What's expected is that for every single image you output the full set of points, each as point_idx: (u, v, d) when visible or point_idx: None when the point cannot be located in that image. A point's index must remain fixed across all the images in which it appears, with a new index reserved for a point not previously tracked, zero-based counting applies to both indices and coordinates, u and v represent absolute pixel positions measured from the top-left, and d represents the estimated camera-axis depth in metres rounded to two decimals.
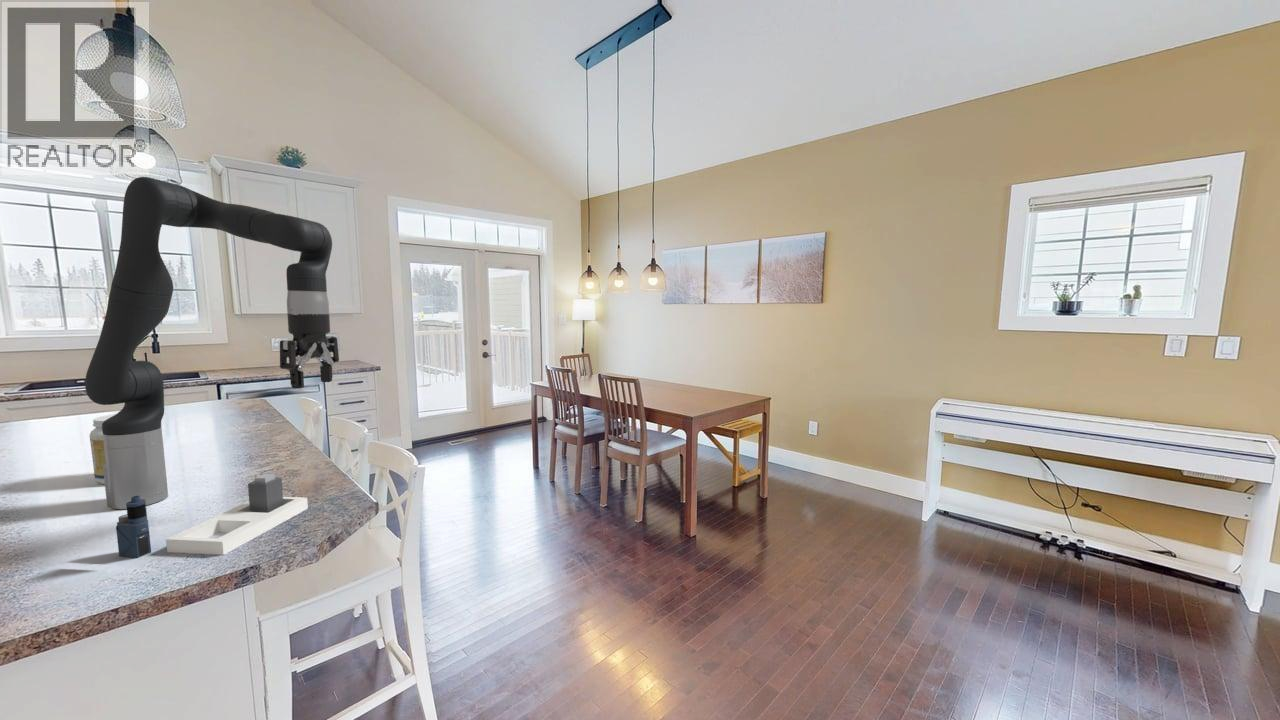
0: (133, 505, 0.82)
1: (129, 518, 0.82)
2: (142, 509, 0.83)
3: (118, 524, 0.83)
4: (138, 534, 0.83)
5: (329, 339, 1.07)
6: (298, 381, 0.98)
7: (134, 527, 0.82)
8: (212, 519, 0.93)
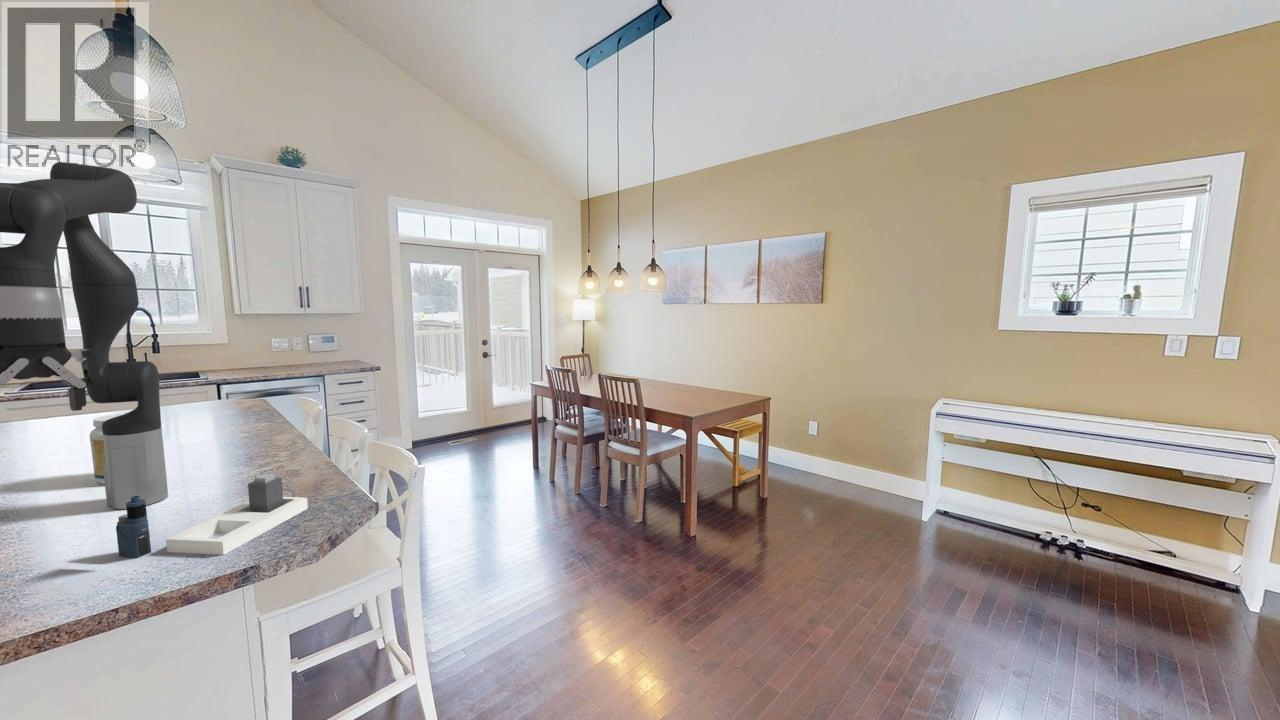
0: (133, 505, 0.82)
1: (129, 518, 0.82)
2: (142, 509, 0.83)
3: (118, 524, 0.83)
4: (138, 534, 0.83)
5: None
6: None
7: (134, 527, 0.82)
8: (212, 519, 0.93)
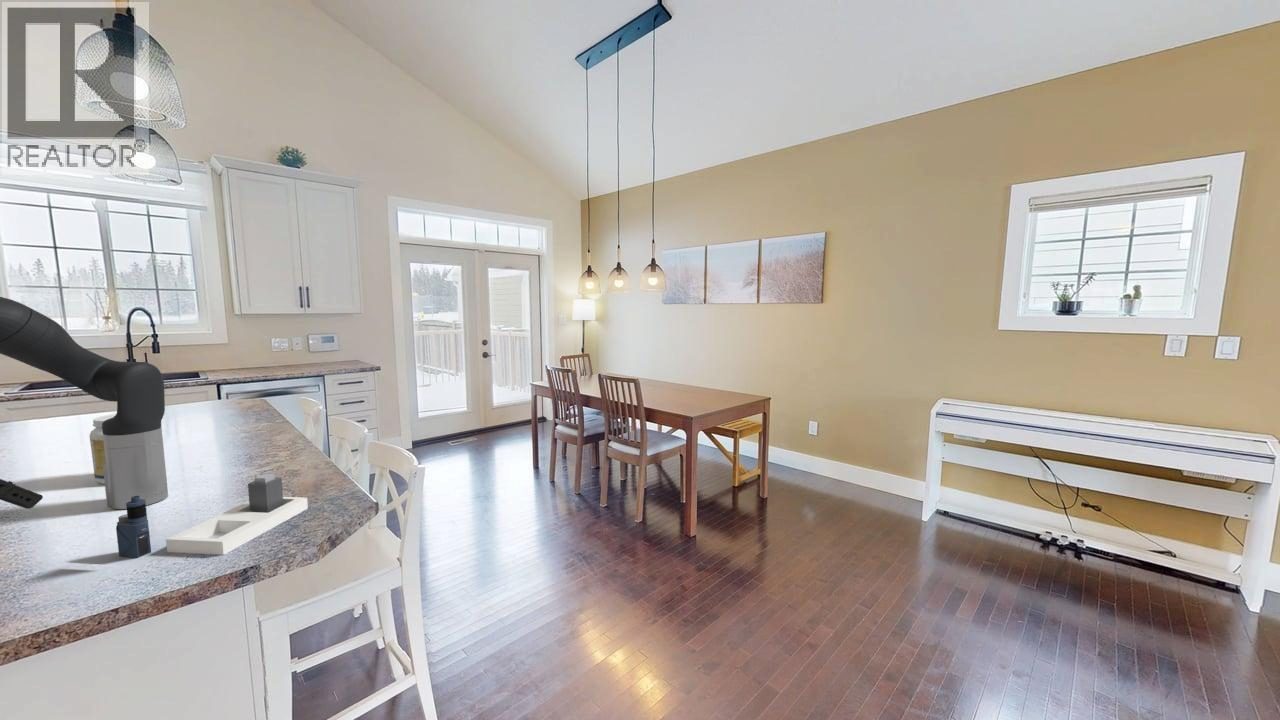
0: (133, 505, 0.82)
1: (129, 518, 0.82)
2: (142, 509, 0.83)
3: (118, 524, 0.83)
4: (138, 534, 0.83)
5: None
6: (30, 494, 0.70)
7: (134, 527, 0.82)
8: (212, 519, 0.93)
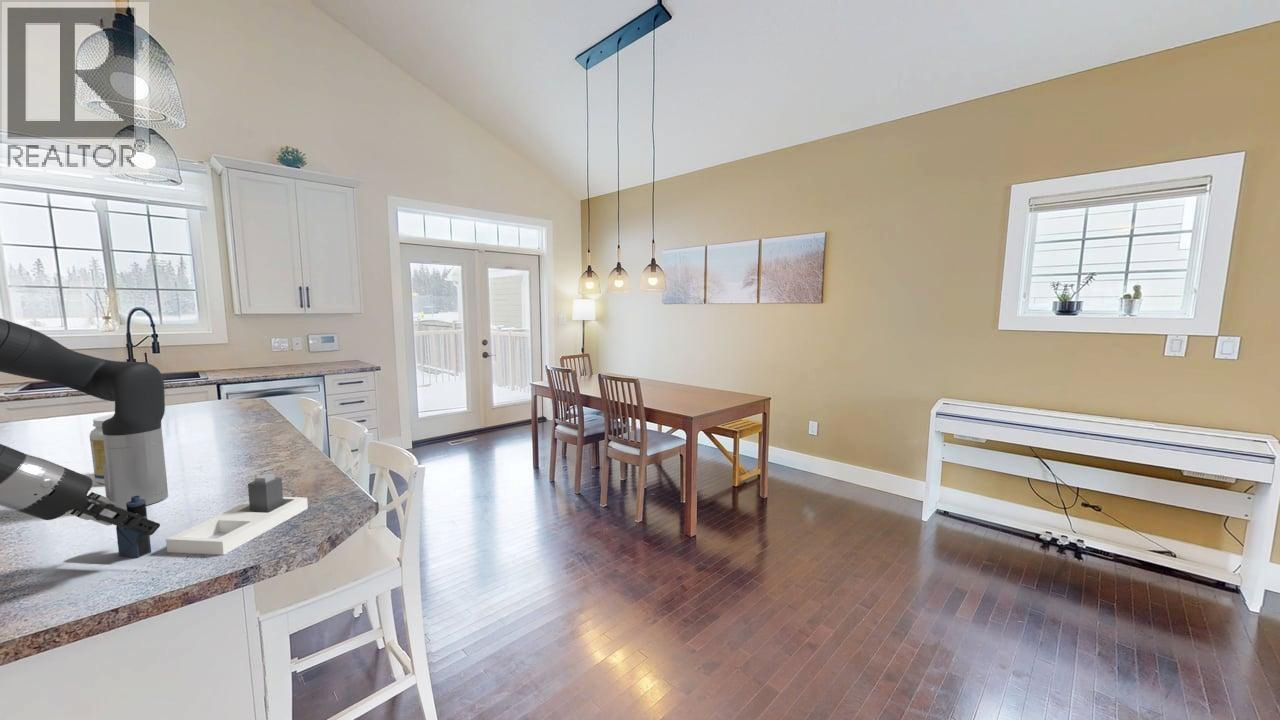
0: (133, 505, 0.82)
1: None
2: (142, 509, 0.83)
3: None
4: (138, 534, 0.83)
5: None
6: (151, 523, 0.83)
7: None
8: (212, 519, 0.93)
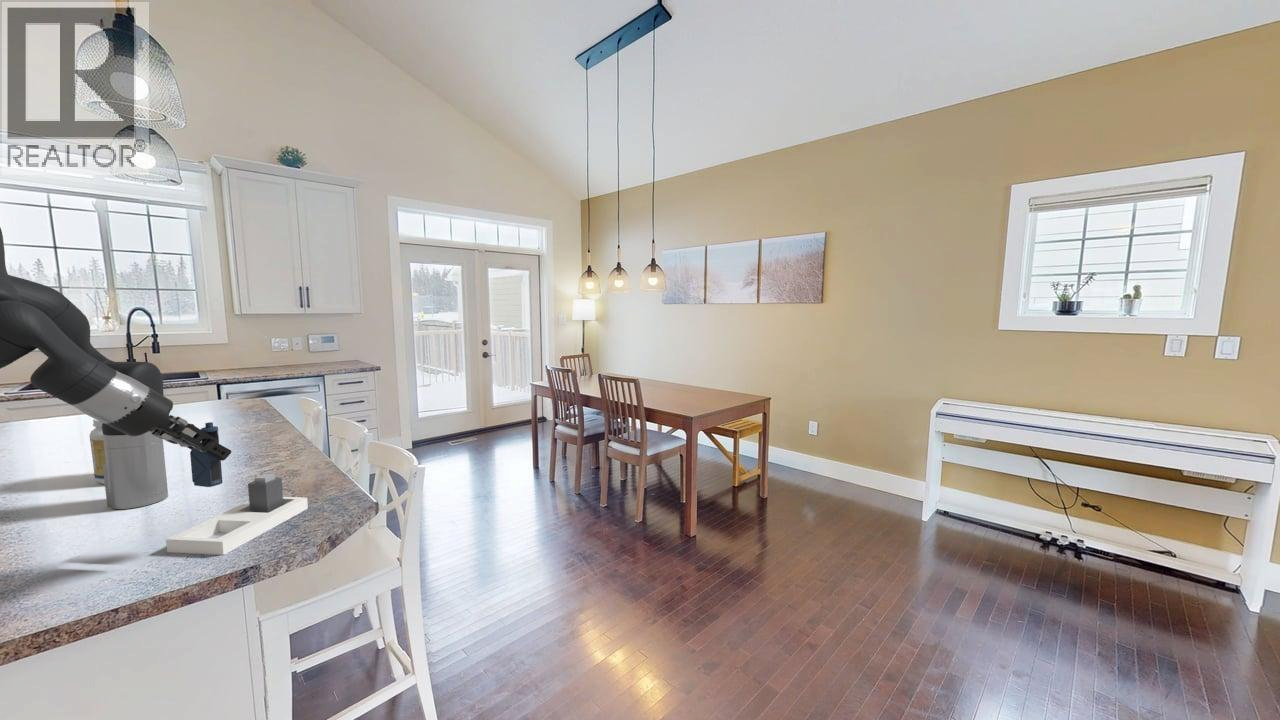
0: (207, 430, 0.85)
1: None
2: (215, 435, 0.86)
3: (192, 449, 0.86)
4: (211, 459, 0.86)
5: None
6: (224, 449, 0.86)
7: None
8: (212, 519, 0.93)
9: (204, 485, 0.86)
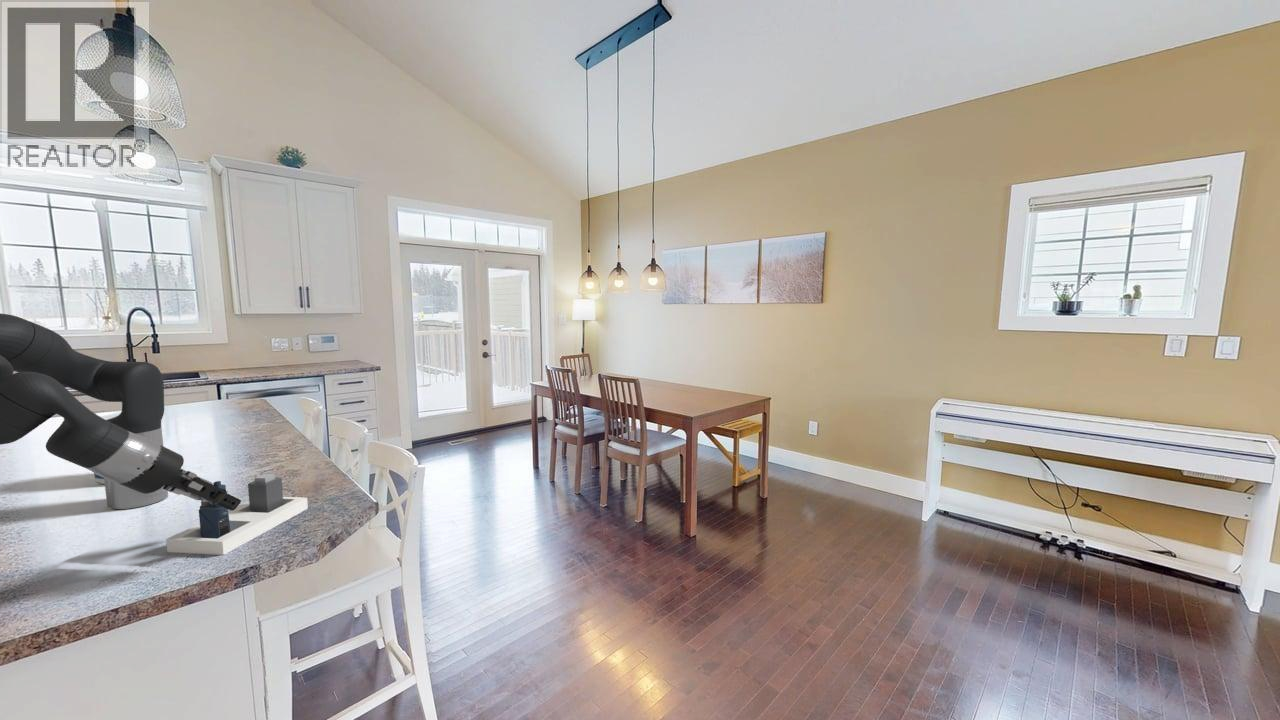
0: None
1: None
2: None
3: (201, 508, 0.88)
4: (220, 517, 0.87)
5: None
6: (234, 499, 0.87)
7: (216, 511, 0.87)
8: None
9: None
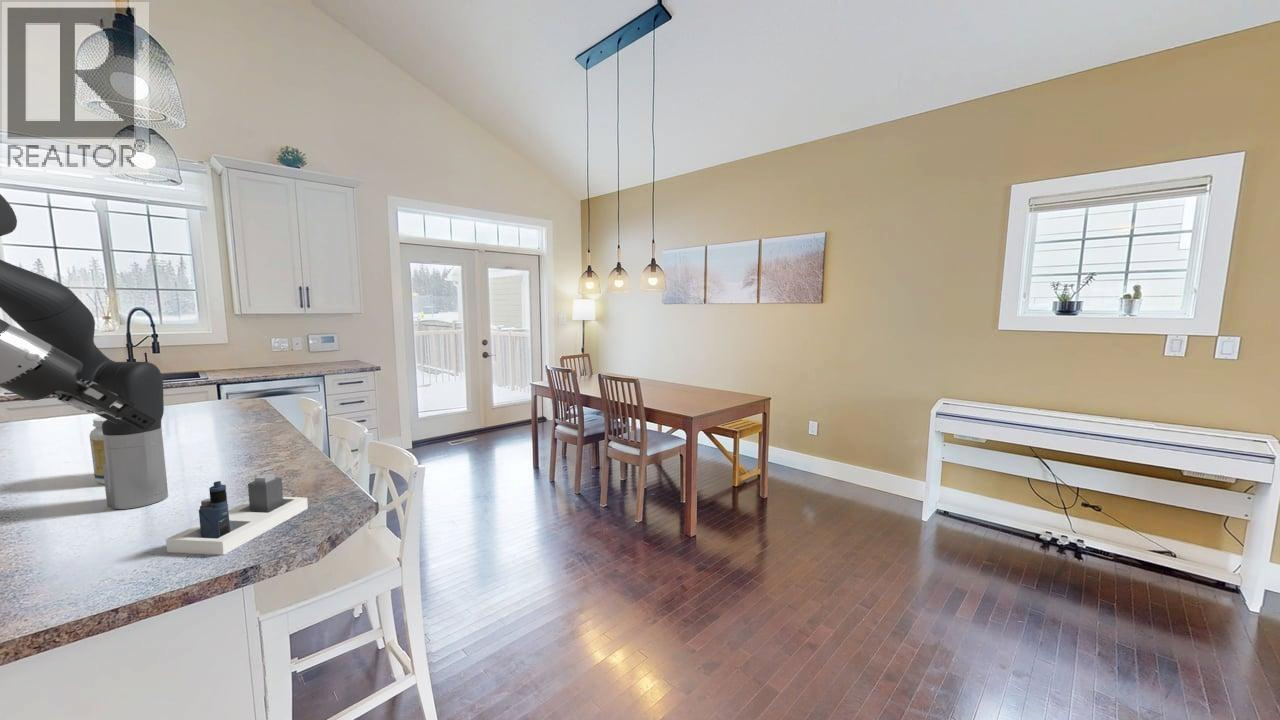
0: (216, 490, 0.87)
1: (212, 502, 0.87)
2: (223, 493, 0.88)
3: (201, 508, 0.88)
4: (220, 517, 0.87)
5: None
6: (146, 417, 0.76)
7: (216, 511, 0.87)
8: None
9: None
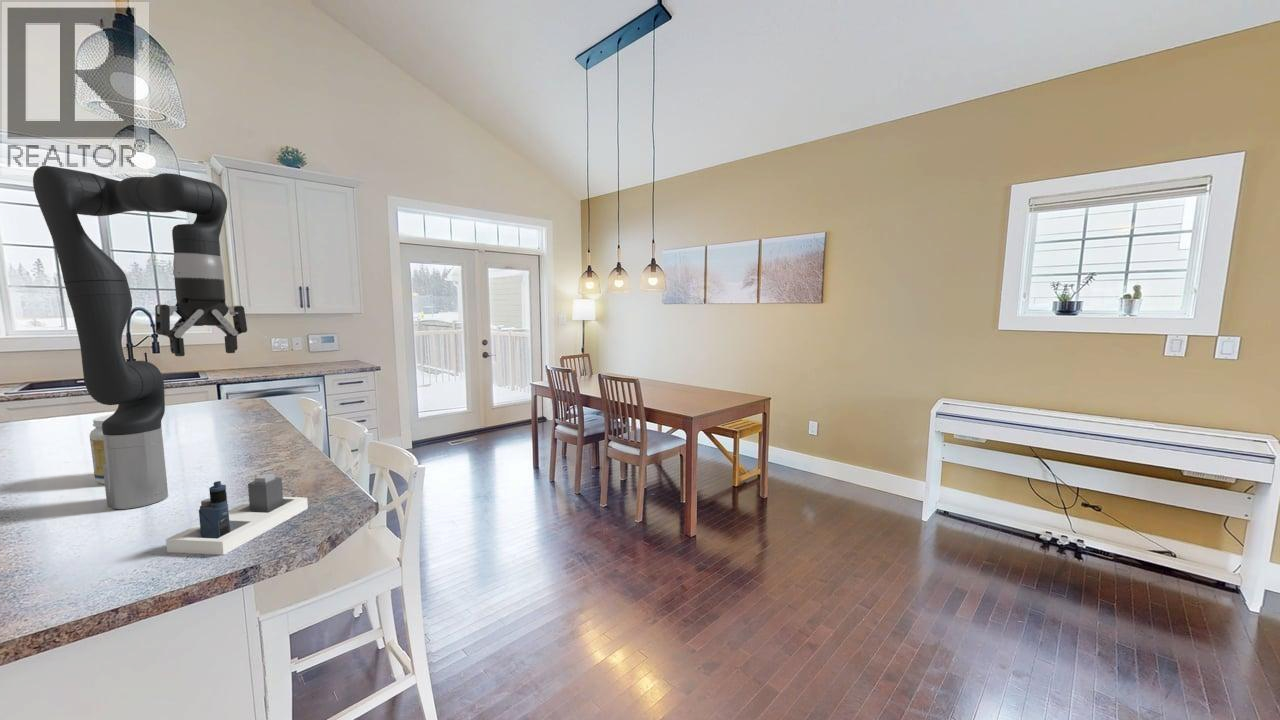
0: (216, 490, 0.87)
1: (212, 502, 0.87)
2: (224, 493, 0.88)
3: (201, 508, 0.88)
4: (220, 517, 0.87)
5: None
6: None
7: (216, 511, 0.87)
8: None
9: None
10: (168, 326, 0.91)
